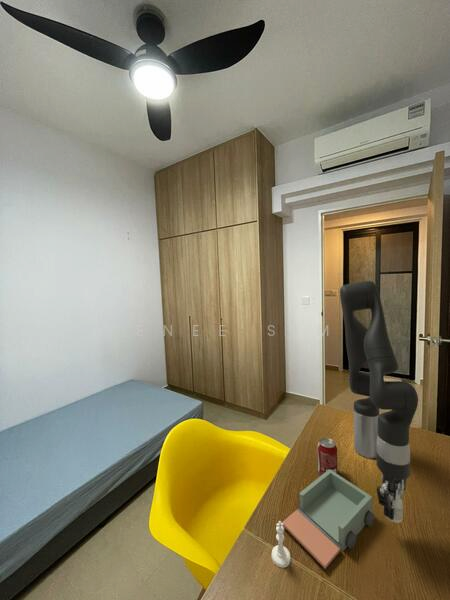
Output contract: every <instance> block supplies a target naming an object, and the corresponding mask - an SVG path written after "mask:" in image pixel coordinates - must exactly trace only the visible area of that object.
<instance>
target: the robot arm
mask: <svg viewBox="0 0 450 600" xmlns="http://www.w3.org/2000/svg"><path fill="white" fill-rule="evenodd" d="M339 298H340V304H341V311H342V315H343V321H344V322H343V323H344V330H345V331H344V332H345V333H344V334H345V345H346V346H345V347H346V353H347V359H348V381H349V383H348V385H349V389H350V391H351V392H352V393H353V394H355V395H359V396H364V397H366V398H361V399H356V400H355V401H354V402H353V449H354V451H355V452H356V453H357V455H360V456H361V457H364V458H368V459H376V466H377V468H378V470H379V471H380V472H381V474H382V476H381V486H379V485H378V486H377V487H376V493H377V499H378V504H379V505H381V506H382V507H383V506H384V511H383V516H385V518H387V517H388V518H389V519H391V520H393V519H394V502H395V500H396V499H397V496H398V489H399V490H400V493H401V497H400V498H401V499H403V498H402V497H403V496H404V491H406V489H407V479H409V478H410V475H411V447H410V427H411V424H412V423H413V420H414V417H415V414H416V411H417V409H418V406H419V395H418V393H417V390H416V388H415V387H414V386H413V385H412V384H411V383H410V382H407V381H402V380H397V381H396V380H388V381H387V380H386V381H385V378H384V377H385V375H390V374H393V373H395V372H398V369H399V364H398V361H397V357H396V355H395V351H394V350H393V347H392V344H391V341H390V337H389V334H388V330H387V324H386V318H385V312H384V309H383V305H382V304H383V303H382V301H381V296H380V291H379V289H378V287H377V284H376V283H375V282H374V281H372V280H364V281H359V282H353V283H347V284H343V285H341V287H340V289H339ZM363 310H370V314H371V316H370V317H371V318H370V322H369V326H368V327H366V326H365V325H364V324H363V323H362V322H361V321H359V320H358V318H357V317H356V315H355V314H354V312H355V311H356V312H357V311H363ZM366 364H368V368H369V372H367V371H360V370H361V368H362V367H364V366H365V365H366ZM380 410H386V412H382V413H380ZM387 410H388V411H387ZM387 490H388V491H390V492H391V493H390V492H388V491H387ZM392 493H394V495H393V494H392ZM390 498H391V502H390ZM388 518H387V519H388ZM389 519H388V520H389Z"/></svg>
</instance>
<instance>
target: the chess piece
mask: <svg viewBox="0 0 450 600" xmlns="http://www.w3.org/2000/svg"><path fill="white" fill-rule="evenodd" d="M275 531H276V532H277V533H276V535H275V539H276V540H277V541H278V542H277V545H275V546H273V548H272V550H271V560H272V563H274V564H275V566H277V567H278V568H287V567H288V566H289V565H290V563H291V553H290V550H289V549H288V548H287V547H285V546H284V541H285V536H284V532H285V527H284V526H283V523H282V521H281V520H278V522H277V523H276V528H275Z"/></svg>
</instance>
